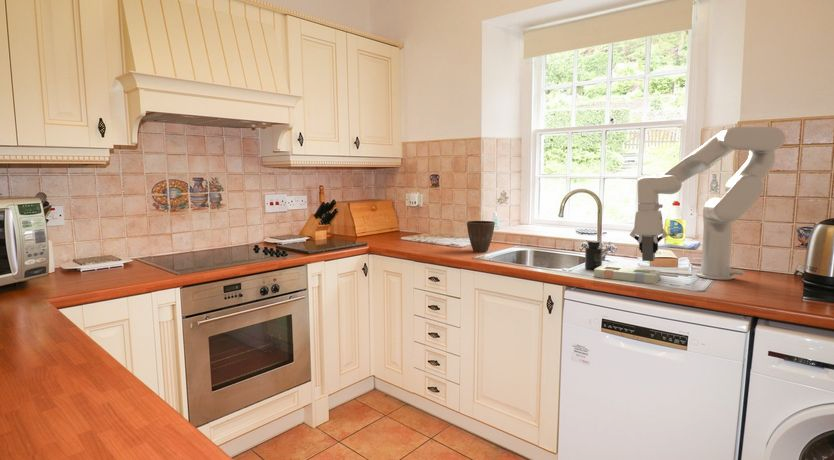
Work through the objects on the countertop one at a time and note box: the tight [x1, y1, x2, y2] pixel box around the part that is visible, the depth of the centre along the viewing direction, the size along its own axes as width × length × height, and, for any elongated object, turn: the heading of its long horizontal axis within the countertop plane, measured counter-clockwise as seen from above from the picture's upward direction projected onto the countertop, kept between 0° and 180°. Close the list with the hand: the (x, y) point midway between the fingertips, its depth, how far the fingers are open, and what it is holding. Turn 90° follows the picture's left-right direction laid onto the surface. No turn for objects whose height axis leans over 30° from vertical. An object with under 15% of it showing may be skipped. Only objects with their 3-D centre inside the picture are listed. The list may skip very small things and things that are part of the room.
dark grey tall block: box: [641, 235, 656, 262], centre depth 193 cm, size 4×4×11 cm
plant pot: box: [466, 220, 496, 253], centre depth 253 cm, size 15×15×16 cm
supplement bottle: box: [584, 240, 603, 271], centre depth 204 cm, size 7×7×12 cm
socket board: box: [593, 264, 662, 285], centre depth 187 cm, size 22×12×3 cm, turn 54°
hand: (648, 251), depth 193 cm, fingers closed on dark grey tall block, 4 cm apart
